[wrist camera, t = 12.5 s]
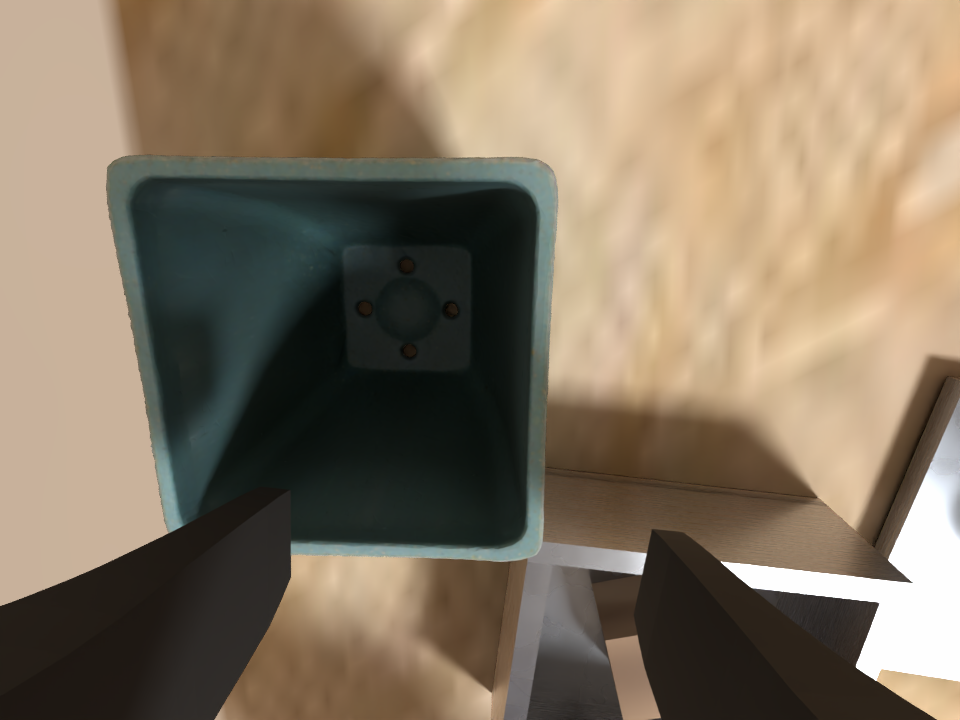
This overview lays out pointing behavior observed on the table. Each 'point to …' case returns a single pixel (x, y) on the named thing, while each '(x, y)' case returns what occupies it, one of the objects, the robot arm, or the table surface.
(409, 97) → the table surface
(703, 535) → the tin
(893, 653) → the lid
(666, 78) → the table surface
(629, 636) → the copper block
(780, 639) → the robot arm
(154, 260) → the flower pot
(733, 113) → the table surface
